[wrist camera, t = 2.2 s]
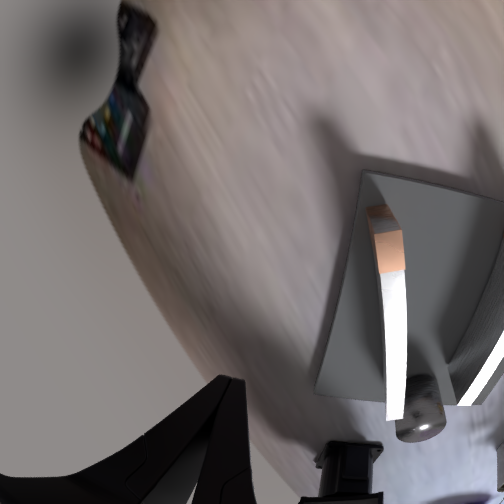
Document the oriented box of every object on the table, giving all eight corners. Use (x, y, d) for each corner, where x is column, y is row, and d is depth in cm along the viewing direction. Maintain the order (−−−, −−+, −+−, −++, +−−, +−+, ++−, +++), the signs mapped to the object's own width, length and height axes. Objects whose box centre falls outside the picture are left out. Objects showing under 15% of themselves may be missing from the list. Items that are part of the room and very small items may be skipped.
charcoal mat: (478, 397, 22) (481, 404, 21) (314, 385, 25) (313, 394, 24) (563, 222, 14) (570, 227, 13) (362, 169, 17) (364, 172, 16)
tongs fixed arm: (459, 367, 20) (470, 405, 16) (446, 366, 20) (457, 405, 16) (524, 211, 14) (558, 236, 10) (510, 207, 14) (544, 231, 10)
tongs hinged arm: (435, 400, 21) (442, 437, 18) (383, 409, 23) (384, 447, 19) (443, 194, 15) (471, 217, 12) (365, 207, 17) (373, 234, 13)
